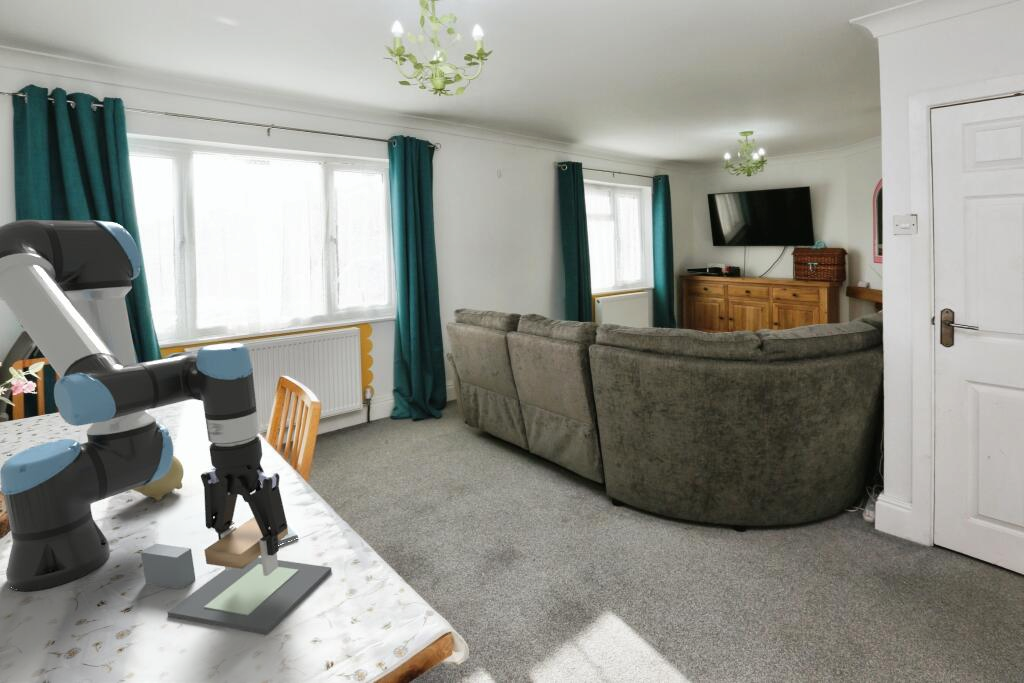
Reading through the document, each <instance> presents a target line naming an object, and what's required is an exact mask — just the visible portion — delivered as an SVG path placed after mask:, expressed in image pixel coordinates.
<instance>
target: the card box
mask: <svg viewBox="0 0 1024 683" xmlns="http://www.w3.org/2000/svg"><path fill="white" fill-rule="evenodd" d="M269 528H270V527H269ZM286 535H288V529H285V530H284V531H283V532H281V533H280V534H279V535H277V536H278V542H279V541H280V540H281V539H282V538H284V537H285V536H286ZM261 537H263V535H262V533H261V531H260V529H259V526H258V524H257V522H256V520H255V517H254V516H253V517H252V518H250V519H249V520H247V521H245V522H244V523H243V524H240V525H239V526H238V527H236V529H235V530H234V531H232V532H230V533H229V534H227V535H226V536H224V537H223V538H221V539H220V540H219V539H218V540H217V541H216V542H214V543H212V544H211V545H209V546H208V547H206V548H205V549H204V556H205V563H206V565H209V566H210V565H211V566H217V567H218V566H219V567H224V568H225V567H232V568H239V569H243V568H244V567H246V566H247V565H248V564H250V563H251V562H252V561H254V560H255V559H256V558H258V557H261V550H260V543H259V539H260V538H261Z"/></svg>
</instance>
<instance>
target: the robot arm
mask: <svg viewBox="0 0 1024 683" xmlns="http://www.w3.org/2000/svg"><path fill="white" fill-rule="evenodd" d="M141 266H142V260H141V256H140V250H139V249H138V246H137V244H136V242H135V240H134V238H133V236H132V235H131V234H130V233H129V232H128V230H127V229H126V228H124V227H123V226H122V225H120V224H118V223H117V222H113V221H103V220H95V219H90V220H89V219H88V220H66V219H65V220H62V219H61V220H59V219H58V220H56V219H55V220H54V219H53V220H45V219H44V220H42V219H39V220H38V219H22V220H20V219H19V220H16V221H11V222H8V223H6V224H3V225H1V226H0V300H1V301H4V303H5V304H6V306H7V307H8V309H9V310H10V311H11V312H12V314H13V315H14V317H15V318H16V320H18V322H19V324H20V325H21V326H22V328H23V329H24V331H26V333H27V334H28V336H29V338H30V339H31V340H32V341H33V342H34V344H35V345H36V347H37V348H38V350H39V351H40V352H41V354H42V355H43V356H44V358H45V360H47V362H48V363H49V365H50V366H51V367H52V369H53V370H54V371H55V373H56V374H57V375H58V377H59V379H58V380H57V381H56V382H55V384H54V388H53V397H54V403H55V405H56V407H57V409H58V414H59V415H60V417H61V418H62V419H63V421H64V422H65V423H67V424H69V425H71V426H74V427H76V426H77V427H78V426H84V425H85V426H86V425H89V424H91V425H90V426H89V427H88V428H87V430H86V437H87V442H84V443H80V442H79V441H78V440H77V439H73V438H72V439H71V438H66V439H64V438H63V439H58V440H55V441H48V442H45V443H40V444H38V445H36V446H33V447H30V448H27V449H25V450H22V451H20V452H19V453H16V454H15V455H12V457H10V458H9V459H7V460H6V461H5V462H4V463H3V464H2V466H1V468H0V485H1V487H0V491H1V493H2V494H3V500H4V504H5V508H6V513H7V518H8V523H9V528H10V532H11V538H12V544H11V548H10V554H9V558H8V563H7V568H6V571H5V574H6V581H7V586H8V585H9V586H10V587H12V588H14V589H17V590H16V591H19V590H32V591H37V590H38V591H39V590H44V588H45V589H49V588H53V587H57V586H60V585H63V584H66V583H69V582H71V581H74V580H77V579H79V578H81V577H83V576H85V575H87V574H89V573H91V572H93V571H95V570H96V569H98V568H99V567H100V566H102V565H103V564H104V563H105V562H106V561H107V560H108V559H109V557H110V555H111V551H110V550H111V548H110V544H109V540H108V539H107V537H106V536H105V535H104V533H103V532H102V531H101V529H100V527H99V526H98V524H97V522H96V521H95V520H94V518H93V514H92V513H93V512H92V506H91V505H92V504H93V503H96V502H100V501H103V500H105V499H108V498H110V497H111V498H112V497H115V496H117V495H119V494H122V493H125V492H129V491H131V490H132V489H134V488H137V487H143V486H145V485H147V484H149V483H151V482H153V481H156V480H158V479H161V478H162V477H164V476H165V475H166V474H167V473H168V471H169V469H170V468H171V465H172V461H173V456H174V445H173V444H174V443H173V439H172V436H171V435H170V433H169V432H170V431H169V430H168V429H167V427H166V426H165V425H164V424H160V423H157V421H156V417H155V416H153V415H151V414H149V413H148V412H146V411H148V410H151V409H157V408H161V407H165V406H169V405H173V404H178V403H182V402H185V401H190V400H197V401H202V404H203V411H204V418H205V423H206V430H207V431H206V432H207V437H208V442H210V445H209V453H210V454H209V456H210V461H211V463H210V464H211V466H212V467H213V468H211V469H208V470H207V471H205V472H203V473H202V474H200V479H201V482H202V485H203V488H204V489H203V490H204V493H203V495H204V515H205V516H204V517H205V526H206V528H207V529H209V530H210V529H214V532H216V533H217V536H218V537H217V538H218V540H220V539H221V538H223V537H224V536H226V535H227V534H229V533H230V532H232V531H234V530H235V529H236V528H237V526H233V525H234V524H235V522H234V521H233V518H234V515H235V509H236V503H237V500H238V499H237V498H238V496H241V498H242V499H243V502H245V503H248V505H249V508H250V510H251V513H252V514H253V517H255V520H256V522H257V524H258V526H259V529H260V531H261V533H262V535H263V537H261V538H260V539H259V543H260V550H261V555H260V558H261V559H262V567H263V575H264V576H268V575H269V574H270V573H272V572H273V571H274V570H275V569H277V568H278V560H279V559H278V555H277V554H278V553H279V550H280V546H278V545H279V544H278V536H277V535H279V534H280V533H281V532H283V531H284V530H285V529H287V525H288V523H287V518H286V513H285V509H284V505H283V500H282V495H281V491H280V486H279V485H280V474H279V473H277V472H274V473H272V474H270V473H266V472H265V471H264V469H263V467H262V464H261V461H262V458H263V448H262V440H261V437H260V436H259V434H260V432H261V431H260V424H259V416H258V409H257V401H256V400H257V399H256V392H255V383H254V382H255V380H254V374H253V373H254V371H253V370H254V367H253V364H252V362H251V356H250V355H251V354H250V351H249V348H248V346H247V345H246V344H243V343H238V342H236V343H235V342H234V343H218V344H217V343H216V344H212V345H211V344H210V345H207V346H203V347H201V348H199V349H198V350H197V353H195V352H190V351H189V352H188V351H184V352H175V353H174V352H173V353H171V354H167V355H166V356H165V357H163V358H161V359H154V360H148V361H145V362H137V359H136V353H135V349H134V342H133V337H132V332H131V327H130V319H129V314H128V309H127V303H126V295H127V294H128V293H129V292H130V291H131V289H132V288H133V286H132V281H133V280H134V279H136V278H138V277H139V275H140V273H141ZM269 527H270V528H269ZM231 569H232V567H224V570H228V571H229V570H231ZM9 586H8V587H9ZM10 587H9V588H10ZM12 588H11V589H12ZM14 589H13V590H14Z"/></svg>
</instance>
